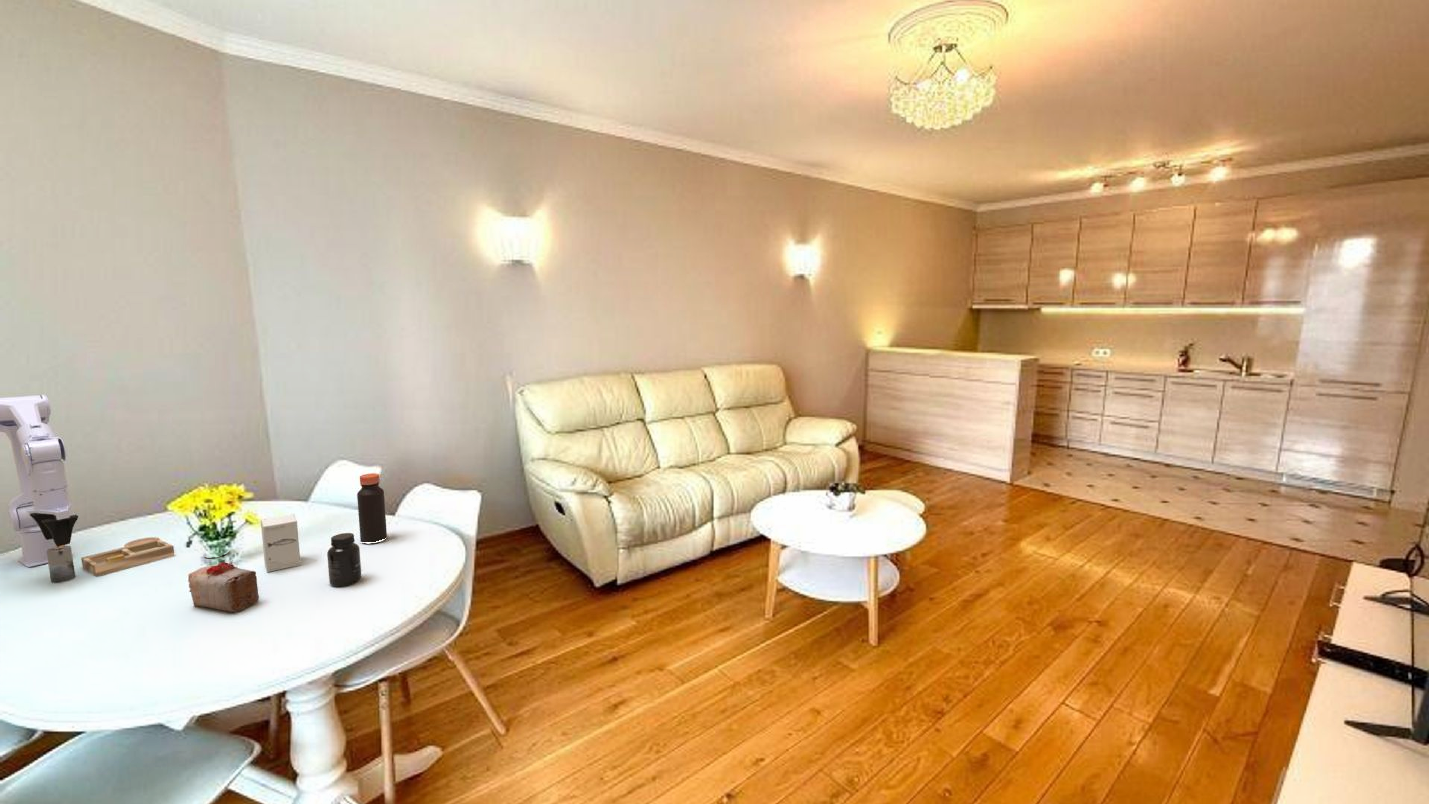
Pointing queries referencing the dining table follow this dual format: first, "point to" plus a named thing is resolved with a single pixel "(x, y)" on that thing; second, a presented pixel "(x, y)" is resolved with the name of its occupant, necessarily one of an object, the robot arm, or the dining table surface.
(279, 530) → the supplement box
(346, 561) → the supplement bottle
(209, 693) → the dining table surface
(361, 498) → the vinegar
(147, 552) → the board
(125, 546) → the dish
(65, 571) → the cell
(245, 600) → the food item
